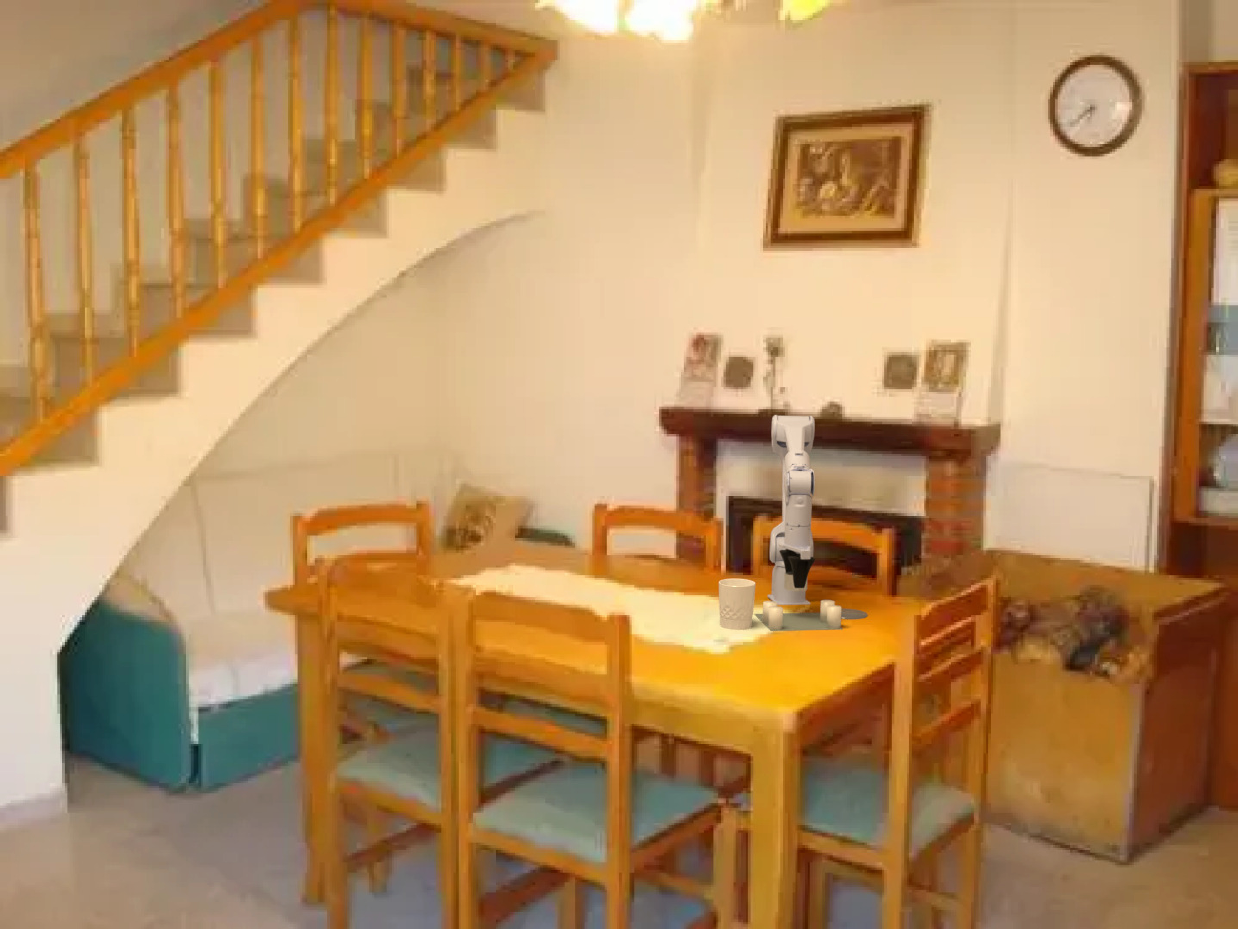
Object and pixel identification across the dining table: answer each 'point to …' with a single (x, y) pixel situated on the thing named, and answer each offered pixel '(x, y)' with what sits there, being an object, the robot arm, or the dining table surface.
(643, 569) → the dining table surface
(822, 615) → the beige capsules
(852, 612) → the grey round coaster
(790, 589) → the faceted crystal gem
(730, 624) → the white cup
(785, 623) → the mat
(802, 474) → the robot arm
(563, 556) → the dining table surface
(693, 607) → the dining table surface
